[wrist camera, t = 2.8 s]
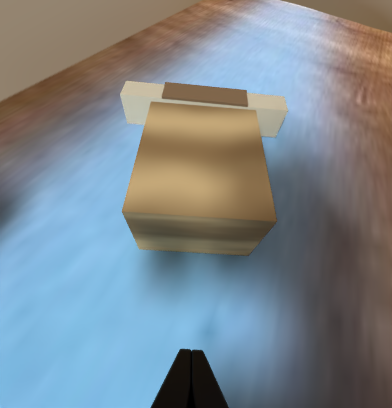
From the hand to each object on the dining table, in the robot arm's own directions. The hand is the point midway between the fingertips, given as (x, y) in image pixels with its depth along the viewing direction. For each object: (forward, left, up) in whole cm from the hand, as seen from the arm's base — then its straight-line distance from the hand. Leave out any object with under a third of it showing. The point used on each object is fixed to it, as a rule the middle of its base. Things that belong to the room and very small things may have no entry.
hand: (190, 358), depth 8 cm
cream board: (+18, -18, -9) cm, 27 cm away
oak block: (+9, -9, -9) cm, 16 cm away
